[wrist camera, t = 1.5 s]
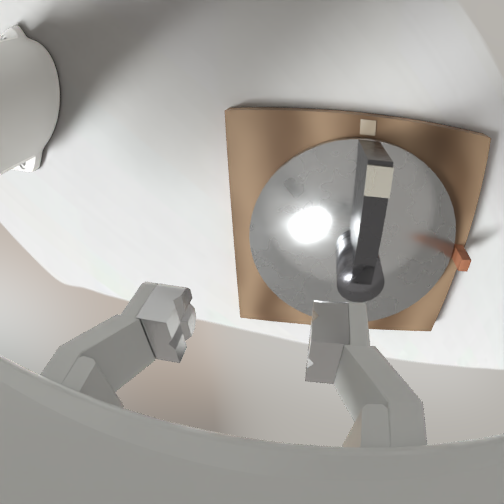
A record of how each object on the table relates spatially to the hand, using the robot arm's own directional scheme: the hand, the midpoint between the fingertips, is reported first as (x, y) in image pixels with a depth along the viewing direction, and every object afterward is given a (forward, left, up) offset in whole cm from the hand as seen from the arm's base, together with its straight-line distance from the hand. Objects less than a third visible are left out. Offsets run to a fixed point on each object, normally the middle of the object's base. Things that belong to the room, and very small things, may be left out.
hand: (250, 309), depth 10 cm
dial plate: (+6, -8, -19) cm, 21 cm away
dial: (+5, -8, -17) cm, 20 cm away
